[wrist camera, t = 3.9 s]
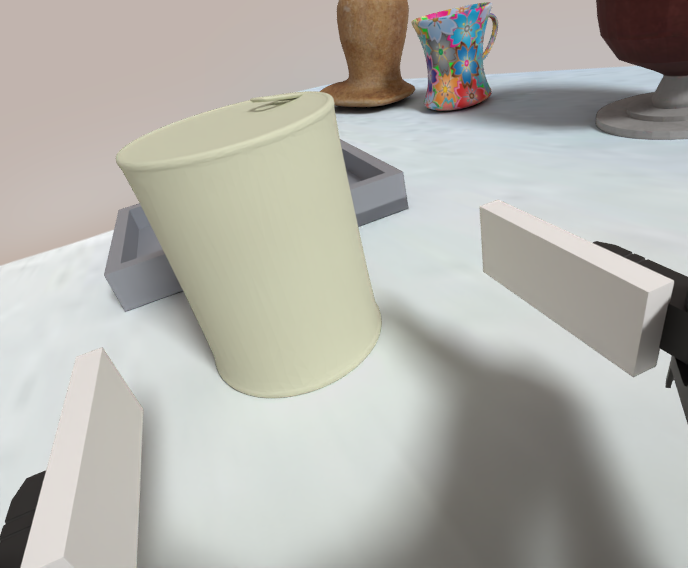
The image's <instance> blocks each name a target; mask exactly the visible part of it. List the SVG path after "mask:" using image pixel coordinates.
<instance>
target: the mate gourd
mask: <svg viewBox="0 0 688 568" xmlns="http://www.w3.org/2000/svg"><path fill="white" fill-rule="evenodd" d="M596 2H597V17H598V23H599V28H600V33H601V36H602V38H603V39H604V40H605V42H606V43H607V44H608V46H609V47H610V49H611V50H612V51H613V53H614V54H615V55H616V57H617V58H618V59H619V60H621V61H624V62H627V63H631V64H634V65H637V66H641V67H644V68H647V69H650V70H654V71H656V72H659V73H661V74H663V75H664V76H663V78H662V80H661V82H660V84H659V86H658V87H657V89H656V91H655V92H652V93H647V94H641V95H636V96H632V97H628V98H625V99H621V100H618V101H615V102H613V103H610V104H608V105H606V106H604V107H603V108H601V109H600V110H599V111H598V112H597V115H596V125H597V127H598V128H599V129H601V130H602V131H604V132H607V133H609V134H613V135H617V136H621V137H629V138H637V139H658V140H670V139H688V0H596Z"/></svg>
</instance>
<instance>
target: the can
mask: <svg viewBox="0 0 688 568" xmlns="http://www.w3.org/2000/svg"><path fill="white" fill-rule="evenodd" d="M116 162H117V164H118V166H119V167H120V168H121V170H122V171H123V173H124V175H125V177H126V178H127V180H128V182H129V184H130V186H131V188H132V190H133V191H134V193H135V195H136V197H137V199H138V201H139V203H140V205H141V207H142V209H143V211H144V213H145V215H146V217H147V219H148V221H149V223H150V225H151V227H152V229H153V231H154V233H155V235H156V237H157V239H158V241H159V243H160V245H161V247H162V249H163V251H164V253H165V255H166V257H167V259H168V261H169V263H170V265H171V267H172V269H173V271H174V273H175V275H176V277H177V279H178V281H179V283H180V285H181V287H182V289H183V291H184V293H185V295H186V297H187V300H188V302H189V304H190V306H191V308H192V310H193V312H194V314H195V316H196V318H197V320H198V323H199V325H200V327H201V329H202V331H203V333H204V335H205V337H206V339H207V342H208V344H209V346H210V348H211V351H212V353H213V355H214V358H215V362H216V367H217V370H218V372H219V374H220V376H221V377H222V379H223V380H224V381H225V382H226V383H227V384H228V385H230V386H231V387H232V388H234V389H235V390H237V391H239V392H242V393H244V394H247V395H251V396H256V397H262V398H282V397H291V396H297V395H301V394H305V393H309V392H312V391H315V390H318V389H320V388H323V387H325V386H327V385H329V384H331V383H333V382H335V381H337V380H339V379H340V378H342V377H344V376H345V375H347V374H348V373H349V372H351V371H352V370H354V369H355V368H356V367H357V366H358V365H359V364H360V363H361V362H363V360H364V359H365V358H366V357H367V356H368V355H369V354H370V352H371V351H372V349H373V348H374V346H375V344H376V342H377V340H378V338H379V335H380V331H381V324H382V321H381V313H380V310H379V308H378V306H377V304H376V302H375V299H374V295H373V290H372V286H371V282H370V278H369V274H368V270H367V265H366V261H365V256H364V252H363V247H362V242H361V238H360V233H359V229H358V224H357V219H356V215H355V210H354V206H353V201H352V196H351V192H350V187H349V182H348V177H347V172H346V167H345V162H344V157H343V153H342V148H341V143H340V138H339V133H338V127H337V121H336V115H335V109H334V99H333V97H332V96H331V95H329V94H327V93H324V92H295V93H286V94H280V95H273V96H266V97H258V98H252V99H250V100H249V101H244V102H240V103H236V104H232V105H228V106H225V107H221V108H218V109H214V110H210V111H207V112H204V113H201V114H198V115H194V116H192V117H189V118H186V119H183V120H180V121H177V122H175V123H172V124H169V125H167V126H164V127H162V128H159V129H157V130H155V131H153V132H150V133H148V134H146V135H144V136H142V137H140V138H138V139H136V140H134V141H133V142H131V143H129V144H128V145H126V146H125V147H124V148H123V149H121V150H120V151H119V152H118V154H117V156H116Z"/></svg>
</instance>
